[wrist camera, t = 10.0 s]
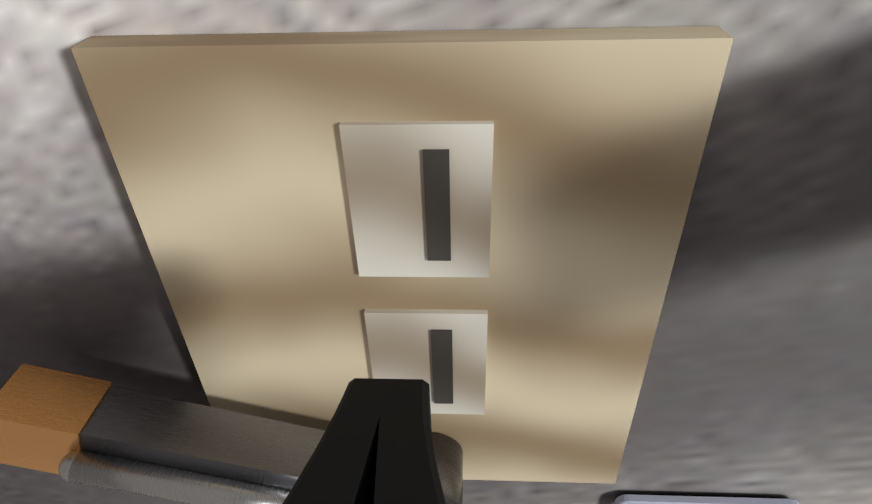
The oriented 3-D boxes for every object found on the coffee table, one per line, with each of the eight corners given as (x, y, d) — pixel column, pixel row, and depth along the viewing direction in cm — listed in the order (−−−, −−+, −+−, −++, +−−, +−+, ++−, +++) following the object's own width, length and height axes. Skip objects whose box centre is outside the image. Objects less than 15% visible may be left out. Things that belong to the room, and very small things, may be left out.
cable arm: (471, 439, 23) (471, 552, 19) (452, 475, 24) (449, 587, 21) (36, 346, 21) (-54, 454, 17) (45, 392, 22) (-36, 500, 19)
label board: (610, 462, 25) (616, 490, 24) (244, 453, 26) (234, 479, 25) (718, 26, 14) (738, 41, 13) (91, 35, 15) (63, 51, 14)
